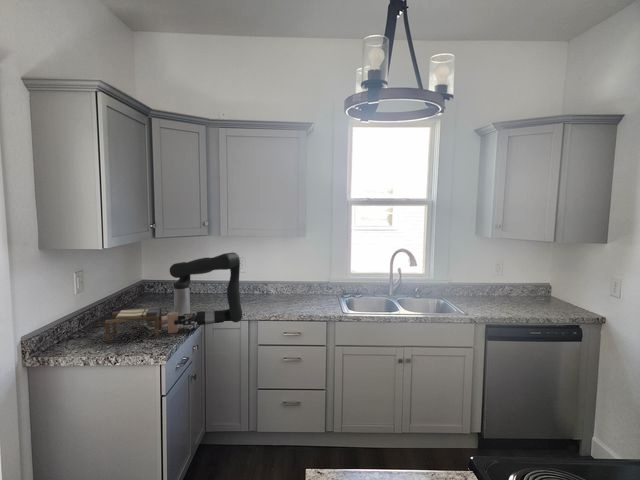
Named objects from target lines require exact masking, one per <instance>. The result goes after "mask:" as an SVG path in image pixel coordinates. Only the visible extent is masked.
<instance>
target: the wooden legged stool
mask: <svg viewBox="0 0 640 480" xmlns="http://www.w3.org/2000/svg"><path fill="white" fill-rule="evenodd" d="M120 311H121V310H119V311H118V310H117V311H112V313H111V315H112V319H105V320H104V330H105V331H104V332H105V344H107V345H108V344H110V343H111V330H110V329H111V328H110V324H112V333H113V334H118V323H125V322H126V323H127V322H139V321H147V320H151V319H154V326H155V329H154V339H156V340H157V339H159V338H160V334H159V333H160V332H159V330H162V329H163V327H162V316H163V315H162V307H160V315H159V318H158V316H149V317H135V318H123V319H116V316H117V315H118V314H119V313H120Z"/></svg>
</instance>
